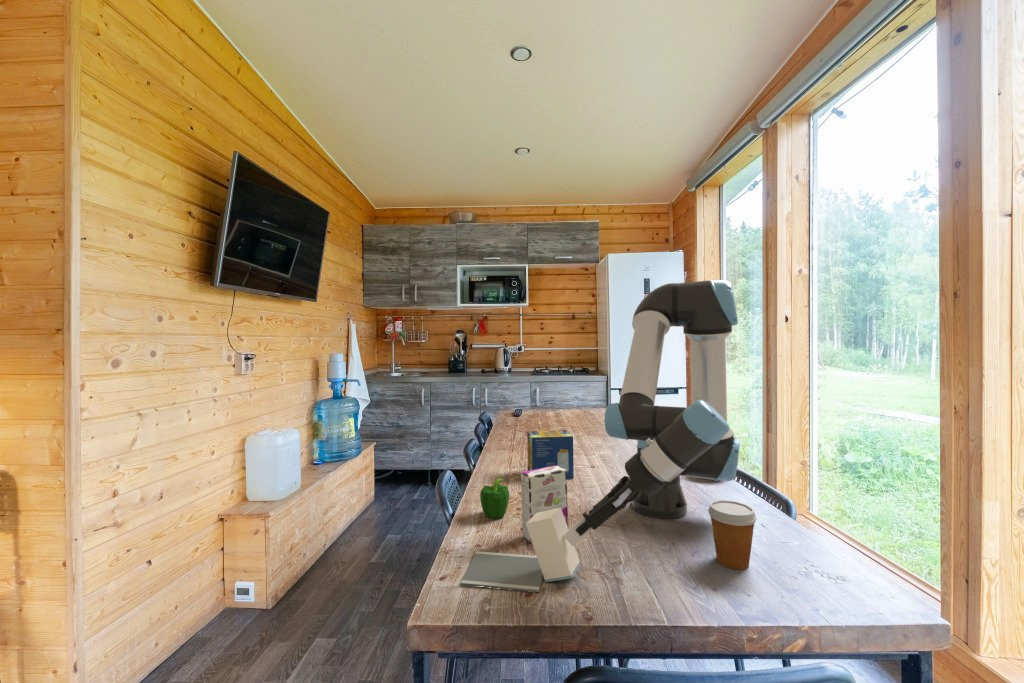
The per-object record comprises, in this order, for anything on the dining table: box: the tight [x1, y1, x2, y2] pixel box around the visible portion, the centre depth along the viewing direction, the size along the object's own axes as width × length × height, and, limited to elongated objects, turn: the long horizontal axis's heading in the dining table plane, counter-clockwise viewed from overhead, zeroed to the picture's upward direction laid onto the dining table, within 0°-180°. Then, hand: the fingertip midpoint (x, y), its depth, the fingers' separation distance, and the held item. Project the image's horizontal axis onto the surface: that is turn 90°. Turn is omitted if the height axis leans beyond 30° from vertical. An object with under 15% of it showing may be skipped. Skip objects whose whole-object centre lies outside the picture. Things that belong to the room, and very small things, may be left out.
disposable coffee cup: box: [707, 499, 758, 570], centre depth 94 cm, size 10×10×12 cm
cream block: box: [526, 507, 581, 583], centre depth 89 cm, size 6×6×12 cm
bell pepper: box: [479, 478, 510, 520], centre depth 121 cm, size 8×8×10 cm
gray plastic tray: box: [459, 551, 544, 593], centre depth 91 cm, size 16×13×1 cm
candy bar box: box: [520, 466, 569, 544], centre depth 108 cm, size 11×5×16 cm, turn 118°
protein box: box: [526, 429, 575, 480], centre depth 156 cm, size 10×15×16 cm
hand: (568, 539), depth 88 cm, fingers closed
